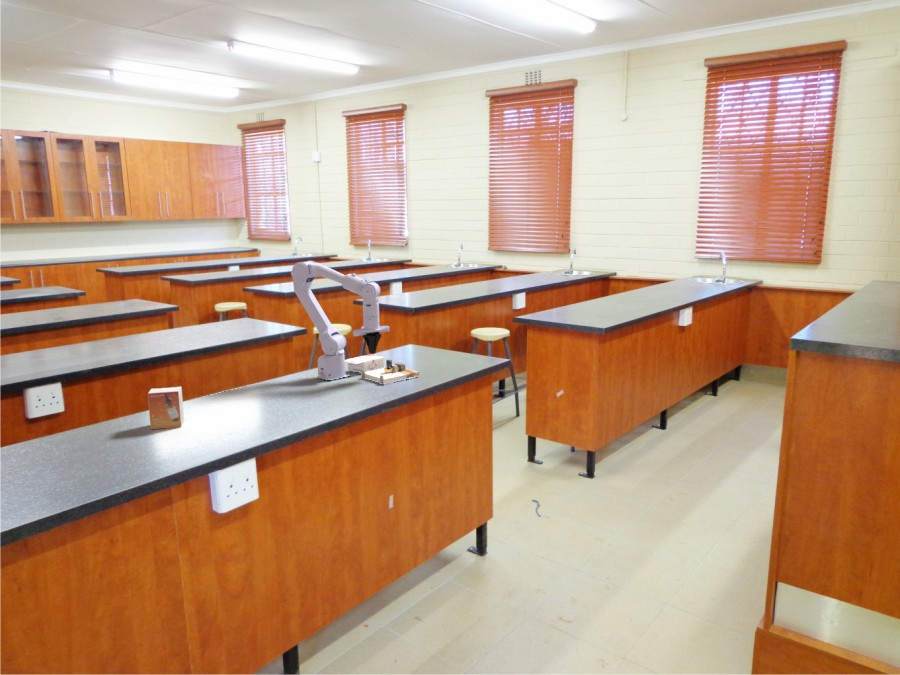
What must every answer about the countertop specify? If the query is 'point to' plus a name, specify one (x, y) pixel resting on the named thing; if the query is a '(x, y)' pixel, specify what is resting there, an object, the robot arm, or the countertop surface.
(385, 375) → the door board
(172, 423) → the small box
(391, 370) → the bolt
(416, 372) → the door jamb
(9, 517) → the countertop surface
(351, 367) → the ink cartridge box
